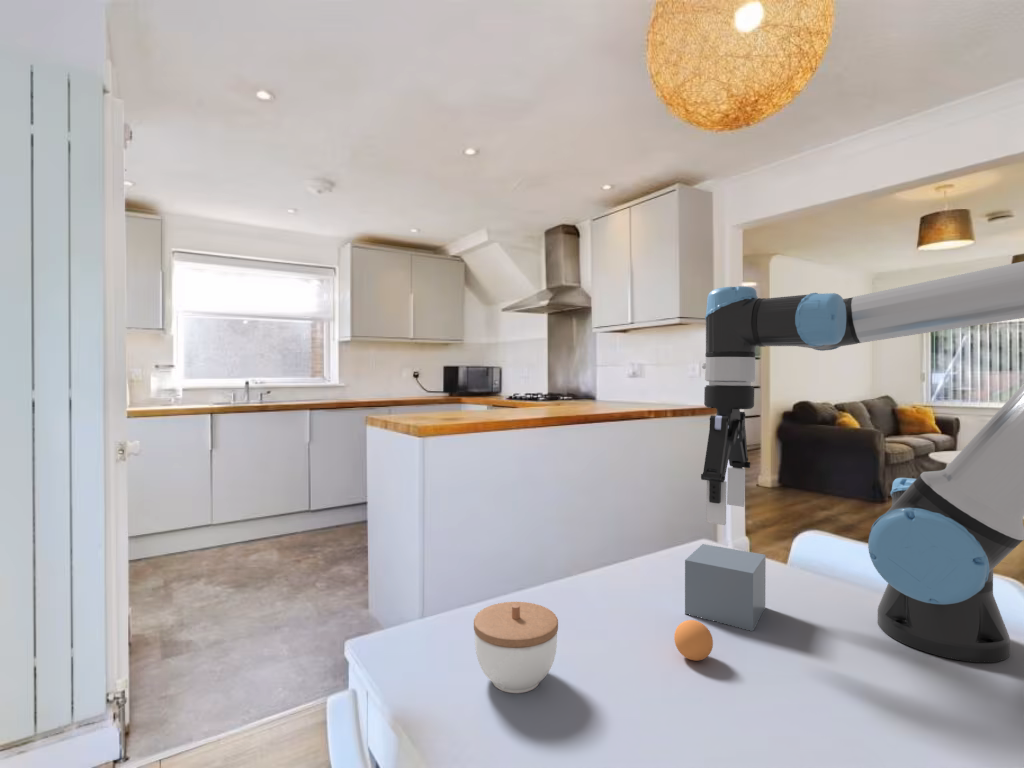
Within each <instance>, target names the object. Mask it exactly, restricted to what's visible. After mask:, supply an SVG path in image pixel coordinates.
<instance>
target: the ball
mask: <svg viewBox="0 0 1024 768" xmlns="http://www.w3.org/2000/svg"><path fill="white" fill-rule="evenodd" d="M673 637H674V639H673V640H674V644H675V646H676V649H677V651H678V652H679V653H680V654H681V655H682V656H683V657H684V658H686V659H688V660H690V661H693V662H694V661H695V662H696V661H697V662H698V661H702V660H705V659H706V658H707V657H709V656H710V655H711V653H712V651H713V647H714V640H713V635H712V633H711V631H710V630H709V628H708V627H707V626H706V625H705V624H704V623H703V622H700V621H698V620H694V619H687V620H684V621H682V622H680V624H678V625H677V626H676V628H675V631H674V636H673Z"/></svg>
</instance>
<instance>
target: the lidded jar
mask: <svg viewBox="0 0 1024 768" xmlns="http://www.w3.org/2000/svg"><path fill="white" fill-rule="evenodd" d="M558 630H559V619H558V616H557V615H556V614H555V613H554V612H553V611H552V610H551V609H549V608H547V607H546V606H543V605H540V604H538V603H537V604H536V603H534V602H533V603H532V602H525V601H507V602H506V601H505V602H499V603H494V604H492V605H489V606H486V607H484V608H483V609H481V610H480V611H479V612H477V613H476V615H475V616H474V619H473V631H474V646H475V648H474V649H475V654H476V657H477V661H478V664H479V666H480V669H481V670H482V672H483V674H484V675H485V676H486V677H487V679H488V680H489V681H490V682H492V685H493V686H494V687H495V688H496V689H498V690H499V691H502V692H505V693H508V694H525V693H528V692H530V691H533V690H534V689H536V688H537V687H538V686H539V685H540V683H541V682H542V681H543V680H544V678H546V676H548V674H549V673H550V670H551V669H552V667H553V664H554V661H555V658H556V653H557V647H558V632H559V631H558Z"/></svg>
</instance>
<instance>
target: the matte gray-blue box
mask: <svg viewBox="0 0 1024 768" xmlns="http://www.w3.org/2000/svg"><path fill="white" fill-rule="evenodd" d="M766 557H767V556H766V554H762V553H759V552H758V553H757V552H751V551H746V550H740V549H735V548H728V547H721V546H717V545H712V544H711V545H710V544H706V543H701V544H700V546H699V547H697V548H696V549H695V550H694V551H693V552H692V553H691V554H690V555H689V556H688V557H686V558H685V559H684V614H685V615H686V614H690V615H693V616H692V617H694V616H698V617H702V618H705V619H704V620H706V619H709V620H708V621H710V620H714V621H717V622H716V623H718V622H720V623H719V624H722V623H724V624H723V625H726V624H728V625H727V626H730V625H732V626H731V627H734V626H736V627H735V628H738V627H739V628H738V629H741V628H742V630H745V629H746V631H749V630H750V631H751V632H754V630H755V629H756V626H757V624H758V623H759V621H758V620H760V618H761V617H762V615H763V613H764V611H765V609H766V564H767V563H766ZM690 615H689V616H690ZM698 617H697V618H698ZM702 618H701V619H702ZM714 621H713V622H714Z"/></svg>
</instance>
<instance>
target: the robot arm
mask: <svg viewBox="0 0 1024 768" xmlns="http://www.w3.org/2000/svg"><path fill="white" fill-rule="evenodd" d="M757 295H758V294H757V290H756V288H754V287H750V286H742V285H741V286H725V287H724V286H723V287H717V288H714V289H712V290H711V291H710V292H709V293H708V294H707V298H706V300H707V302H706V311H705V312H706V313H705V316H704V320H705V363H702V364H701V368H702V369H703V370H705V371H704V374H705V375H704V381H706V382H708V384H707V385H705V386H704V395H703V396H704V397H703V398H704V401H703V402H704V406H705V407H706V408H709V409H716V415H712V414H711V415H710V416H709V430H708V437H707V445H706V452H705V457H704V465H703V472H702V473H701V474H700V478H701V480H702V481H706V504H705V505H706V512H705V513H706V514H705V522H706V523H708V524H709V523H710V524H715V525H721V526H726V523H727V521H726V520H727V505H728V506H735V507H743V508H744V507H745V497H746V496H745V495H746V494H745V493H746V492H745V491H746V489H745V488H746V469H750V468H751V461H749V458H748V457H749V456H748V444H747V434H746V432H747V431H746V412H745V411H741V410H751V409H753V408H754V407H755V387H754V386H753V385H752V383H754V382H755V381H756V349H757V347H760V348H761V347H762V348H763V347H765V348H766V347H799V348H806V349H808V348H809V349H813V350H815V351H822V352H823V351H831V350H837V349H839V348H841V347H845V346H852V345H857V344H863V343H868V342H875V341H876V342H877V341H882V340H889V339H897V338H901V337H902V338H903V337H909V336H915V335H916V336H917V335H921V334H929V333H934V332H935V333H936V332H940V331H947V330H955V329H959V328H965V327H966V328H967V327H973V326H979V325H986V324H987V325H988V324H993V323H998V322H1006V321H1007V322H1008V321H1013V320H1018V319H1019V320H1020V319H1024V261H1020V262H1014V263H1009V264H1004V265H1000V266H999V265H998V266H995V267H991V268H987V269H986V268H985V269H979V270H976V271H971V272H966V273H960V274H958V275H957V274H956V275H951V276H947V277H942V278H937V279H932V280H928V281H923V282H919V283H914V284H908V285H903V286H899V287H894V288H889V289H885V290H880V291H876V292H871V293H870V292H869V293H865V294H862V295H861V294H859V295H857V296H853V297H849V298H843V297H842V296H841V295H840V294H838V293H835V292H834V293H833V292H832V293H831V292H830V293H828V292H827V293H826V292H825V293H818V292H812V293H809V294H800V295H790V296H789V295H788V296H779V297H778V296H777V297H765V298H761V297H759V296H757ZM728 465H729V466H728ZM726 474H727V481H726V480H725V479H726ZM891 485H892V487H891V491H890V494H889V495H890V497H891V498H892V499H891V506H890V507H889V509H887V511H885V512H884V513H883V514H882V515H880V516H879V517H878V518H877V519H876V520H875V521H874V522H873V524H872V525H871V527H870V531H869V535H868V542H867V550H868V554H869V557H870V560H871V563H872V565H873V566H874V568H875V570H876V572H877V573H878V575H880V577H881V578H882V579H883V580H884V581H886V583H887V586H886V588H885V590H884V592H883V595H882V596H881V599H880V602H879V605H878V606H877V625H878V627H879V629H881V630H882V631H883V632H884V633H885V634H886V635H888V636H889V637H891V638H893V639H894V640H896V641H898V642H900V643H901V644H904V645H907V646H909V647H911V648H914V649H916V650H918V651H919V650H920V651H921V652H925V653H928V654H931V655H934V656H939V657H941V658H947V659H950V660H951V659H952V660H958V661H963V662H969V663H997V662H1001V661H1004V660H1007V659H1008V658H1009V656H1010V654H1011V638H1010V635H1009V634H1010V633H1009V632H1008V630H1007V627H1006V624H1005V622H1004V621H1005V620H1004V619H1003V616H1002V614H1001V612H1000V609H999V607H998V604H997V601H996V599H995V596H994V569H995V568H996V567H997V566H998V564H1000V563H1001V562H1002V561H1003V560H1004V559H1005V558H1006V557H1007V556H1008V555H1010V553H1012V552H1013V551H1014V549H1016V548H1017V547H1018V546H1019V545H1020V544H1021V543H1022V542H1023V541H1024V523H1023V521H1024V383H1023V384H1022V385H1020V386H1019V388H1018V389H1017V390H1016V391H1015V392H1014V394H1012V395H1011V396H1010V398H1008V400H1007V401H1006V402H1005V403H1004V404H1003V405H1002V406H1001V407H1000V408H999V409H998V411H997V412H996V413H995V414H994V415H993V416H992V418H990V420H988V421H987V423H986V424H985V425H984V426H983V427H982V428H981V429H980V430H979V432H977V434H976V435H975V436H974V437H973V438H972V439H971V440H970V441H969V442H968V443H967V445H966V446H965V447H964V448H963V449H962V450H961V451H960V452H959V453H958V454H957V455H956V456H955V458H954V459H953V460H952V461H951V462H950V463H949V464H948V465H947V466H946V467H945V468H944V469H940V470H932V471H923V472H921V473H920V475H918V477H917V478H913V477H911V478H910V477H897V478H895V479H894V480H893V481H892V484H891Z"/></svg>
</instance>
